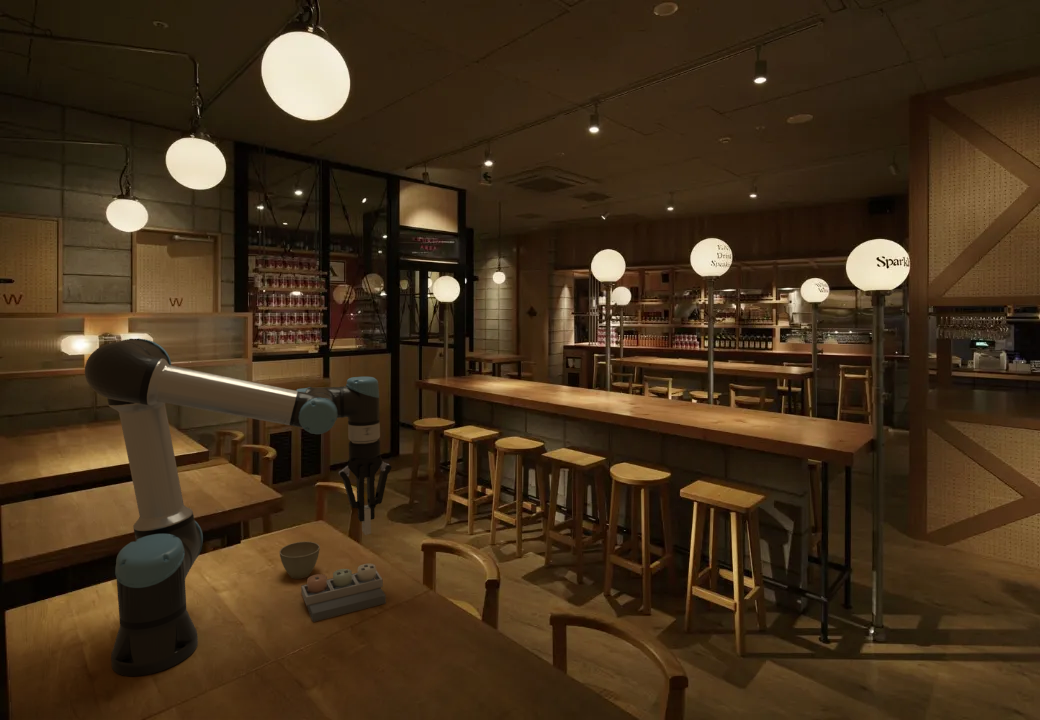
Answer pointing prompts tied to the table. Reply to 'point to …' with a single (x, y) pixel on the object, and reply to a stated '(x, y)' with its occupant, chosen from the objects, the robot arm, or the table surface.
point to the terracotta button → (317, 583)
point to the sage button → (342, 577)
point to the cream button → (366, 572)
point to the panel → (344, 597)
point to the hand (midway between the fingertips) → (366, 532)
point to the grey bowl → (299, 558)
